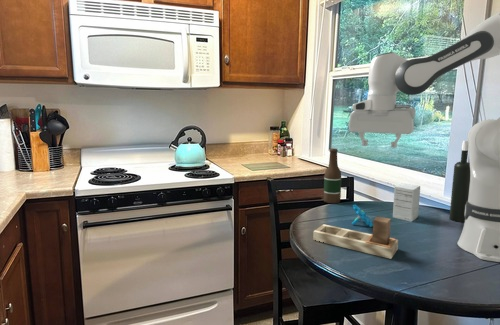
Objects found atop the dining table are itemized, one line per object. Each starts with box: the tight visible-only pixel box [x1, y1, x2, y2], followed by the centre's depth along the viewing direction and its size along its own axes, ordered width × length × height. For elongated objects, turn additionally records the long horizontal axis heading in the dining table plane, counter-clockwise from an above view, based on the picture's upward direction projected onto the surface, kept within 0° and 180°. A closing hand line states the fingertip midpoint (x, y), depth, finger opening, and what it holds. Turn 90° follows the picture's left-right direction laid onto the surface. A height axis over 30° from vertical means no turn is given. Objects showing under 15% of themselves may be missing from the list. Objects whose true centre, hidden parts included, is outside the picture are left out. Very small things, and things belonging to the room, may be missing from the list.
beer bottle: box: [323, 147, 342, 204], centre depth 154 cm, size 8×8×24 cm
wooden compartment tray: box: [312, 223, 399, 260], centre depth 109 cm, size 24×8×3 cm, turn 55°
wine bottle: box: [449, 140, 470, 223], centre depth 128 cm, size 6×6×30 cm
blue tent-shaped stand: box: [351, 204, 373, 228], centre depth 126 cm, size 11×6×10 cm
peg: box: [372, 216, 392, 245], centre depth 104 cm, size 4×4×10 cm
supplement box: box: [392, 182, 421, 222], centre depth 133 cm, size 7×7×13 cm
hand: (378, 146), depth 115 cm, fingers open, 8 cm apart
